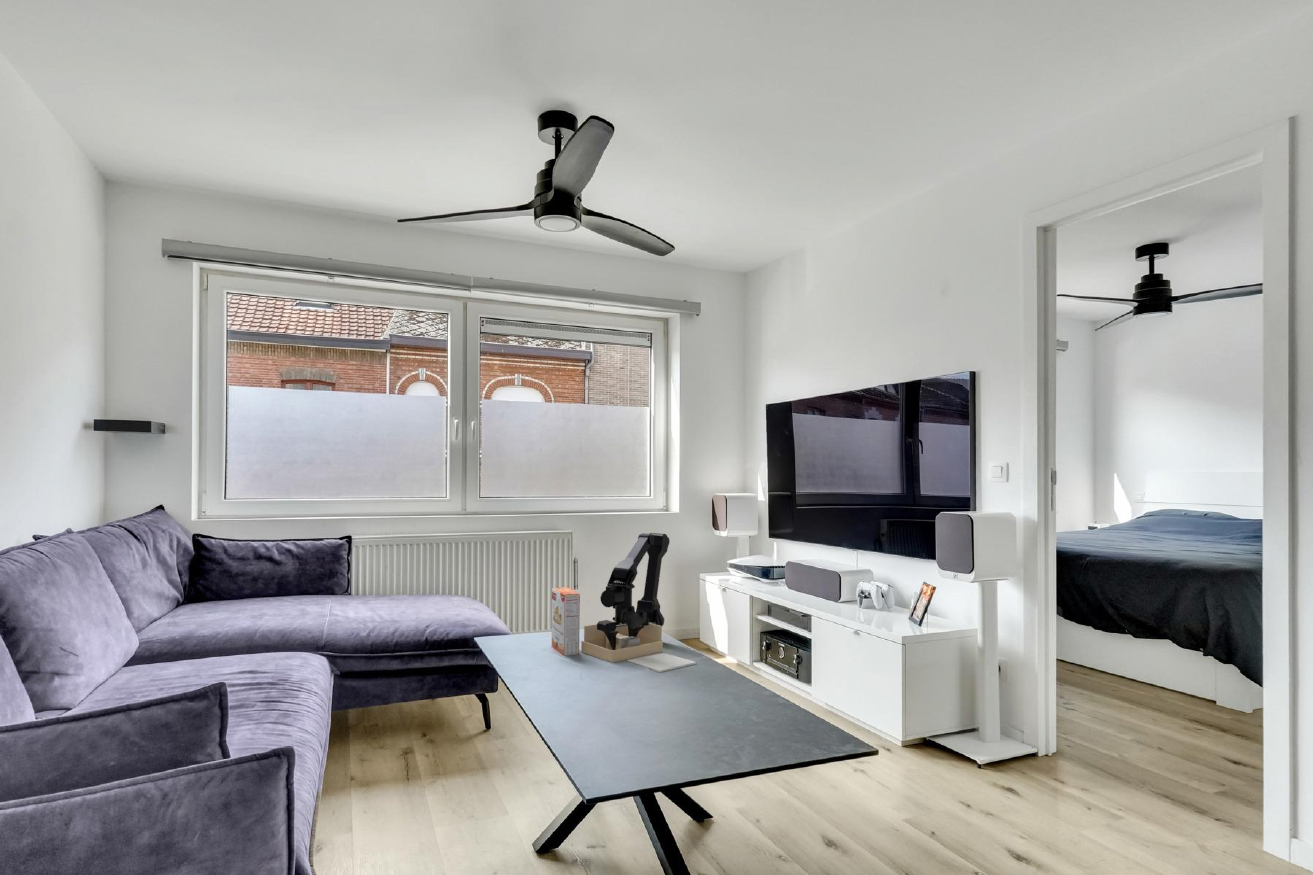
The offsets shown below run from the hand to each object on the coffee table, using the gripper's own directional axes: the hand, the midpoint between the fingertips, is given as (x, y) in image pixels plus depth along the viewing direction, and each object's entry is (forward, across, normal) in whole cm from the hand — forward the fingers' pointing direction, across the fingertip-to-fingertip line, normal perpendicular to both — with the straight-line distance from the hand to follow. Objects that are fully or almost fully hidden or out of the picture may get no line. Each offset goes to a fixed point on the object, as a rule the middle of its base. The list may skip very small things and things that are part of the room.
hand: (622, 648), depth 258 cm
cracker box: (+2, -14, +14) cm, 20 cm away
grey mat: (+2, +2, -18) cm, 18 cm away
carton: (+2, 0, 0) cm, 2 cm away
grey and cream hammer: (+1, 0, 0) cm, 1 cm away
